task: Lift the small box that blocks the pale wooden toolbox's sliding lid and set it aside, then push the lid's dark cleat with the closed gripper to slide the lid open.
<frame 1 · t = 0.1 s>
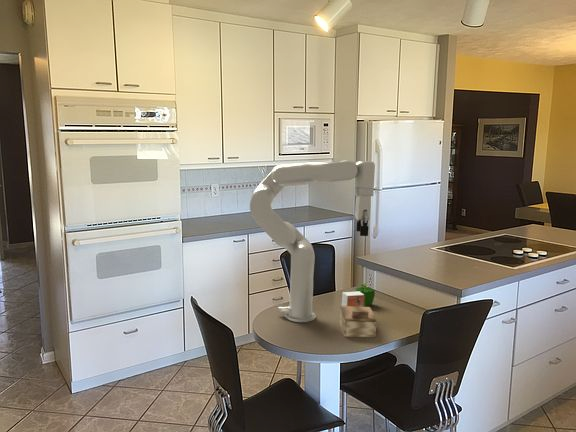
hand: (362, 233, 197), 37 cm above the table, tool pointing down, fingers open, 9 cm apart
lid: (358, 310, 190), point 8 cm above the table, slide at 0.0 cm
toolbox: (357, 329, 191), on the table
bell pepper: (364, 305, 221), on the table
small box: (352, 317, 205), on the table
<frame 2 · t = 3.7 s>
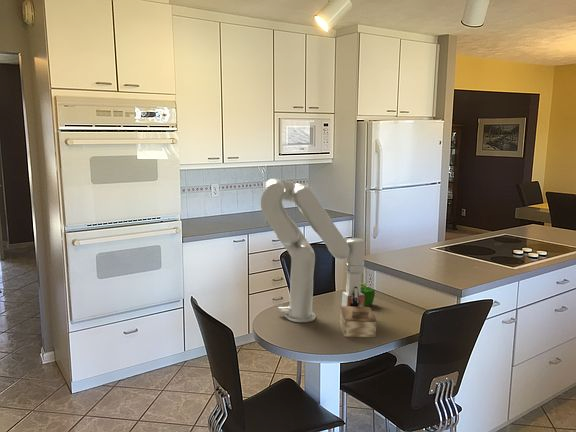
hand: (352, 308, 204), 4 cm above the table, tool pointing down, fingers closed on small box, 6 cm apart
small box: (352, 317, 205), on the table, touching gripper
everything else where it was.
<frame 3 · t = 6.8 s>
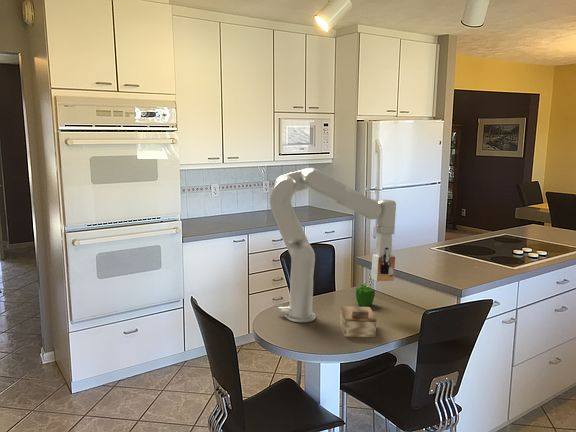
hand: (382, 271, 203), 20 cm above the table, tool pointing down, fingers closed on small box, 6 cm apart
small box: (382, 280, 203), point 16 cm above the table, touching gripper
everything else where it was.
when the fingers open (5 cm above the table, at t = 9.9 s): small box drops 1 cm, on the table.
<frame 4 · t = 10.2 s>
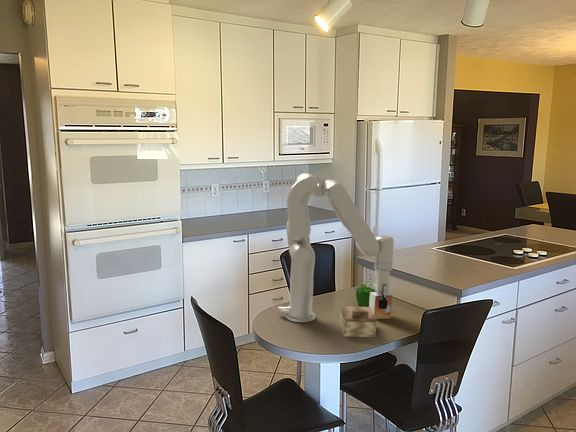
hand: (380, 304, 205), 5 cm above the table, tool pointing down, fingers open, 9 cm apart
small box: (379, 317, 206), on the table
everything else where it was.
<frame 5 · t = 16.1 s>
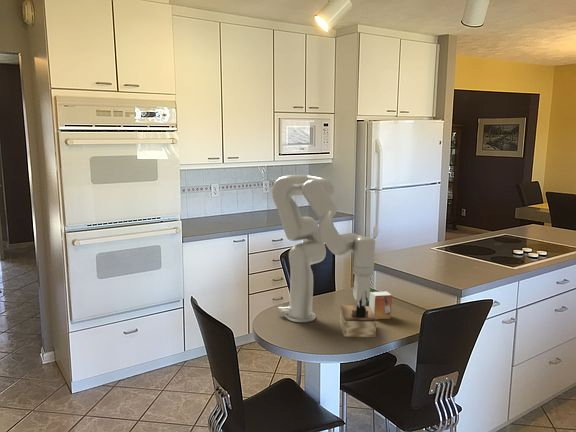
hand: (360, 316, 183), 8 cm above the table, tool pointing down, fingers closed
lid: (357, 309, 191), point 8 cm above the table, slide at 1.0 cm, touching gripper
everything else where it was.
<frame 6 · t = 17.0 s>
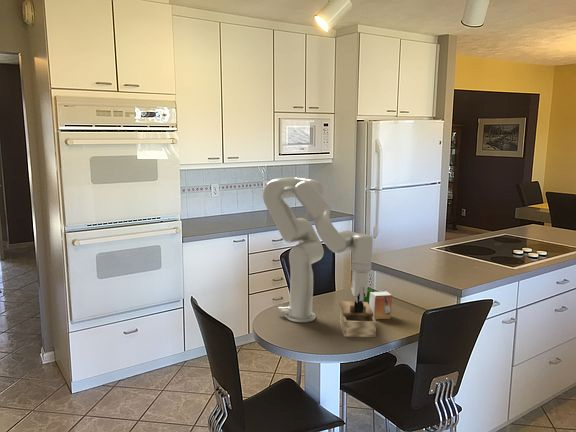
hand: (358, 311, 188), 8 cm above the table, tool pointing down, fingers closed
lid: (355, 305, 196), point 8 cm above the table, slide at 6.2 cm, touching gripper
everything else where it was.
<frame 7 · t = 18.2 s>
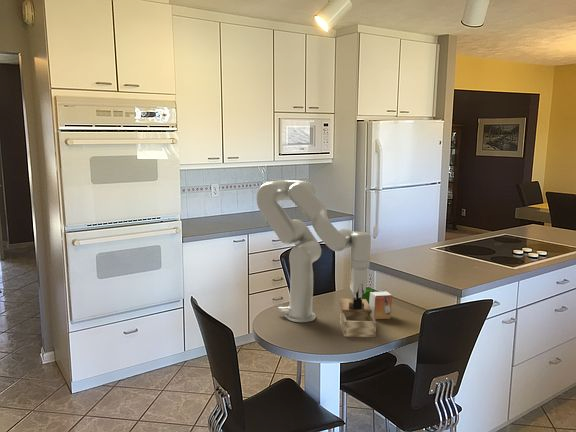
hand: (357, 308, 192), 8 cm above the table, tool pointing down, fingers closed
lid: (354, 302, 200), point 8 cm above the table, slide at 10.0 cm, touching gripper
everything else where it was.
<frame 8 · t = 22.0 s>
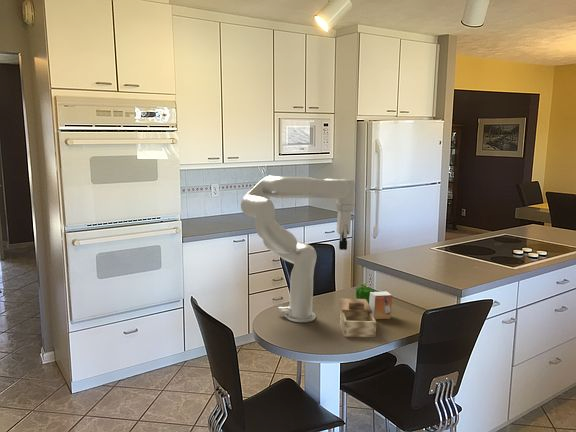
hand: (342, 249, 210), 27 cm above the table, tool pointing down, fingers closed
lid: (354, 302, 200), point 8 cm above the table, slide at 10.0 cm
everything else where it was.
at the end: lid slide at 10.0 cm; small box inside the target area (0.2 cm from its centre), on the table; small box tilted 0° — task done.
